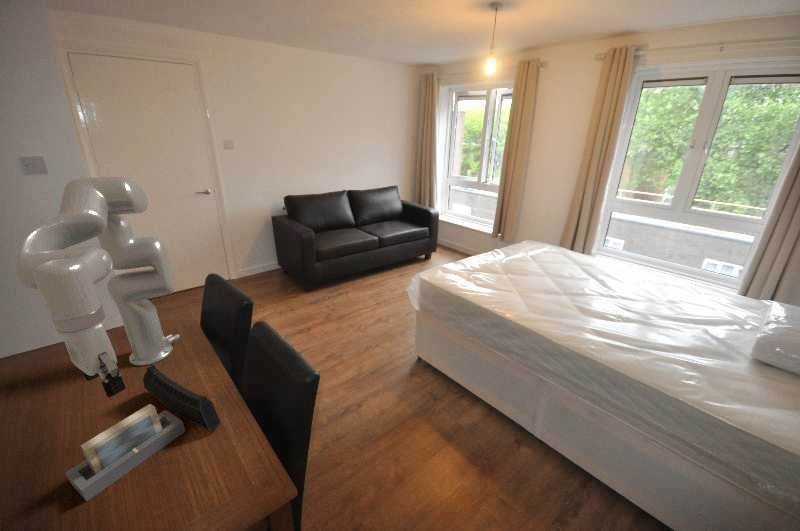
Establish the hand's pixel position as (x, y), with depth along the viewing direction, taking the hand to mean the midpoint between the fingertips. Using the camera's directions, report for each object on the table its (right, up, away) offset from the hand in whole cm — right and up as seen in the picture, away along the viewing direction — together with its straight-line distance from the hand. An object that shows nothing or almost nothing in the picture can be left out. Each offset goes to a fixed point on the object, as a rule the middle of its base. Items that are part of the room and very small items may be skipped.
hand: (105, 384), depth 74 cm
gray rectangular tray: (0, -20, +8) cm, 22 cm away
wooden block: (0, -19, +7) cm, 21 cm away
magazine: (+3, -15, +22) cm, 27 cm away
